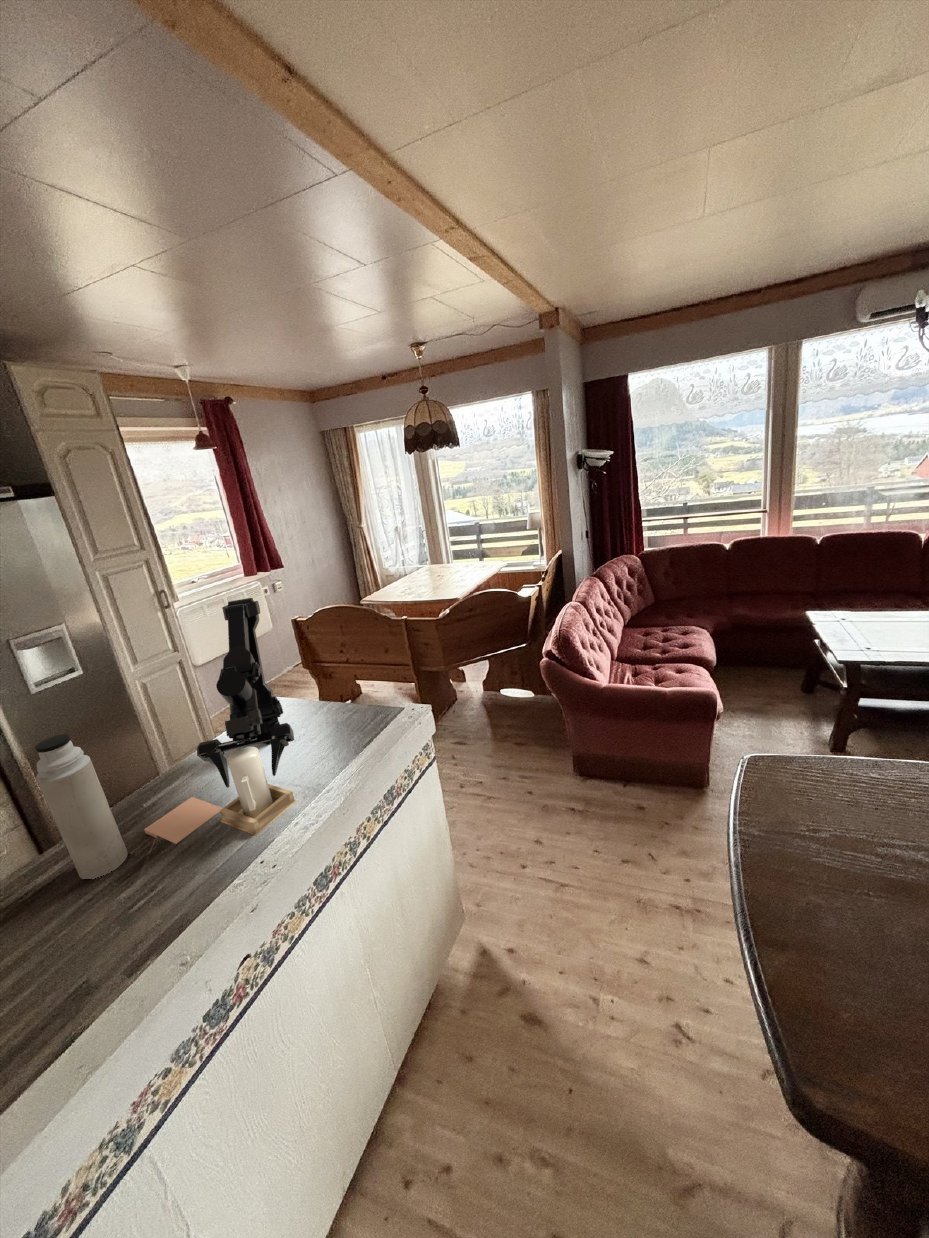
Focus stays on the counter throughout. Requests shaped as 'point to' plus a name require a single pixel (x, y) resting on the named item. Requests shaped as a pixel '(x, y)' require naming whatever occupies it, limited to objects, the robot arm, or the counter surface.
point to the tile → (182, 820)
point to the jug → (250, 781)
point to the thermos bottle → (79, 807)
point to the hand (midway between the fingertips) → (251, 781)
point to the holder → (237, 819)
